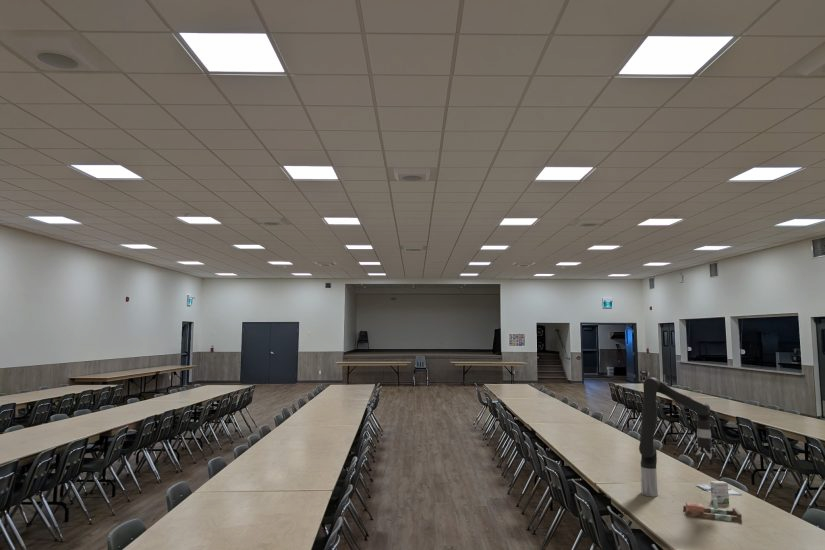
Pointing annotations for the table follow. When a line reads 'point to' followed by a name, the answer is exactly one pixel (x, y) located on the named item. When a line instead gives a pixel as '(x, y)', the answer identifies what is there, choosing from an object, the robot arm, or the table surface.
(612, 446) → the table surface
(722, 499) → the ink box
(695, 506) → the block
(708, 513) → the slot track
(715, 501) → the post
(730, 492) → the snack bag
